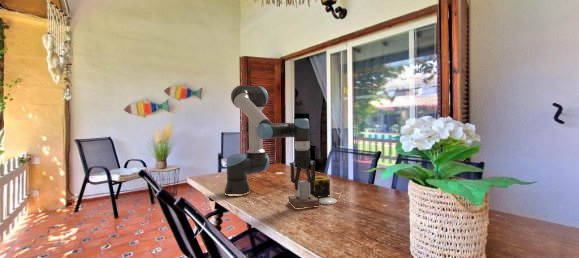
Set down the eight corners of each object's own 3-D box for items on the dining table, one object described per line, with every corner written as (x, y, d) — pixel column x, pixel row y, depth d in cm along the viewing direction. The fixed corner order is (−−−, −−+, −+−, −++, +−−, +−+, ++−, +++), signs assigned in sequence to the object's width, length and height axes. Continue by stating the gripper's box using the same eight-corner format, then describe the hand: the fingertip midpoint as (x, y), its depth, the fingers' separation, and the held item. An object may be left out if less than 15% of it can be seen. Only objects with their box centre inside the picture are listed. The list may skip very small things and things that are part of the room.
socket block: (288, 202, 140) (288, 196, 140) (310, 200, 144) (310, 193, 143) (296, 210, 129) (296, 202, 128) (319, 207, 132) (319, 199, 132)
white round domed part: (314, 200, 143) (314, 199, 143) (331, 198, 146) (331, 197, 146) (322, 206, 134) (322, 204, 134) (340, 203, 137) (340, 202, 137)
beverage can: (302, 203, 139) (302, 179, 139) (310, 204, 136) (309, 180, 136) (296, 205, 136) (296, 181, 135) (304, 207, 133) (304, 182, 132)
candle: (306, 194, 157) (306, 176, 156) (322, 192, 160) (322, 175, 159) (313, 198, 147) (313, 180, 147) (330, 196, 150) (330, 178, 150)
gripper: (287, 151, 129) (288, 199, 130) (321, 149, 134) (322, 195, 135) (283, 149, 136) (284, 195, 137) (315, 147, 141) (316, 192, 142)
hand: (303, 195), depth 136 cm, fingers closed on beverage can, 5 cm apart
